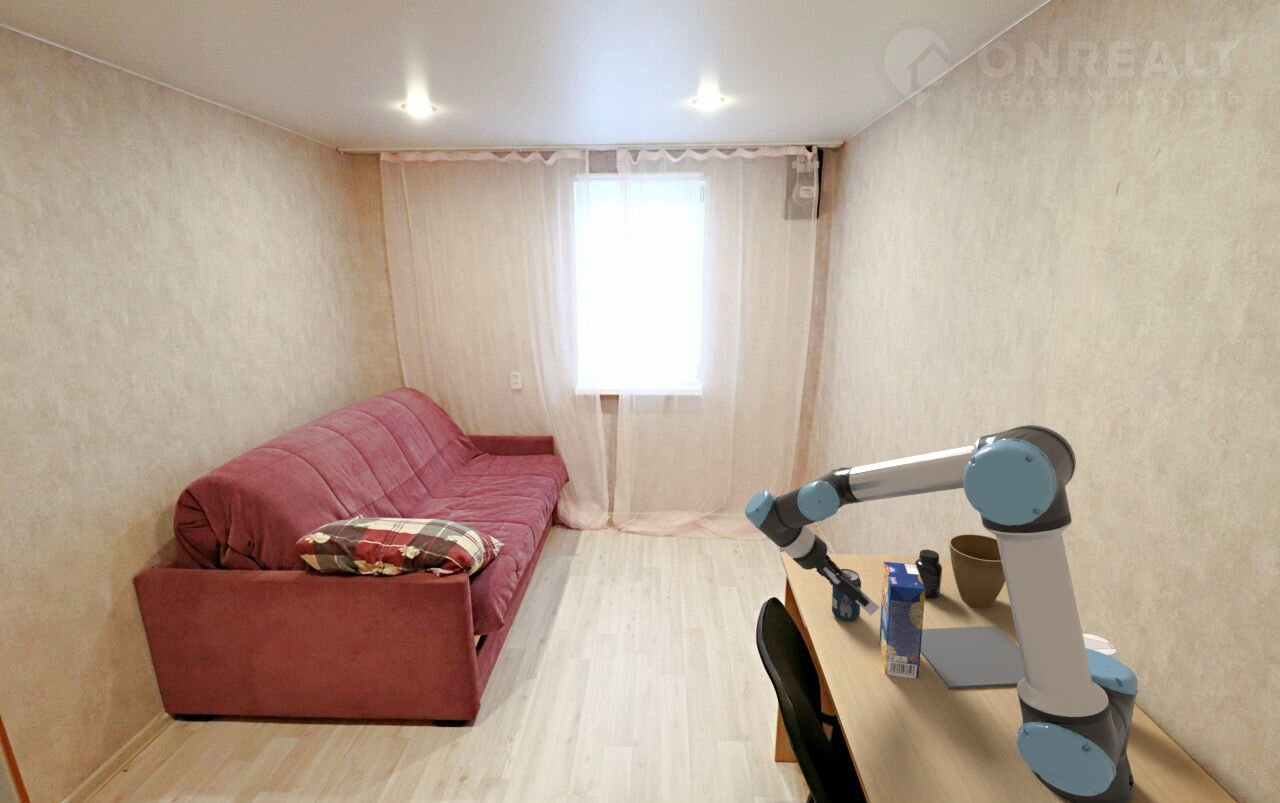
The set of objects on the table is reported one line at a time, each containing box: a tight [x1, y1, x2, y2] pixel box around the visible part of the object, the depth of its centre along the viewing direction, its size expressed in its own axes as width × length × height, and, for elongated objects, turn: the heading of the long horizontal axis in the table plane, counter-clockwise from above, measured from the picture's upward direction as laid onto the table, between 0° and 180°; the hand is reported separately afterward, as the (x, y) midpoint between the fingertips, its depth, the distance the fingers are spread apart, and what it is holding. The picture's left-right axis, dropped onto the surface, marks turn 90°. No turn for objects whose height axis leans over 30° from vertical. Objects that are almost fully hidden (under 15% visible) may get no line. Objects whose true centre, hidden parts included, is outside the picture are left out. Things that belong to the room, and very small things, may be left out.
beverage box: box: [878, 561, 926, 680], centre depth 130 cm, size 7×11×22 cm, turn 165°
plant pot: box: [948, 533, 1006, 609], centre depth 153 cm, size 15×15×16 cm
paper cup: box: [1082, 633, 1119, 661], centre depth 116 cm, size 8×8×14 cm
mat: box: [920, 625, 1025, 690], centre depth 133 cm, size 20×23×1 cm
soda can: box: [831, 568, 862, 623], centre depth 149 cm, size 7×7×12 cm
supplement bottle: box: [914, 549, 943, 600], centre depth 158 cm, size 7×7×12 cm
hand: (873, 609), depth 131 cm, fingers closed
